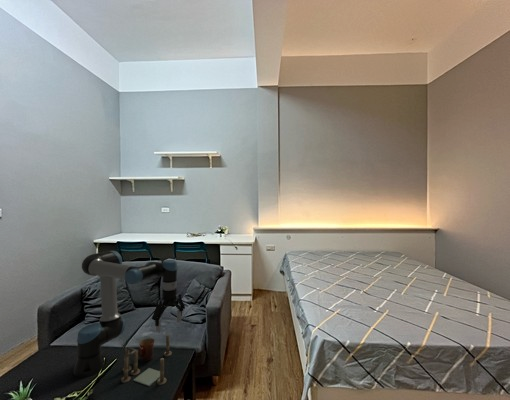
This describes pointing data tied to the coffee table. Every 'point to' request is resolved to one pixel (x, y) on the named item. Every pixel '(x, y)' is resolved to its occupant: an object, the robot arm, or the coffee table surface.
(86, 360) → the robot arm
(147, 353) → the mug
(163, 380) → the gate post right
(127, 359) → the light wood frame
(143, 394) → the coffee table surface
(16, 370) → the coffee table surface
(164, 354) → the gate post far
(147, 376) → the pad
